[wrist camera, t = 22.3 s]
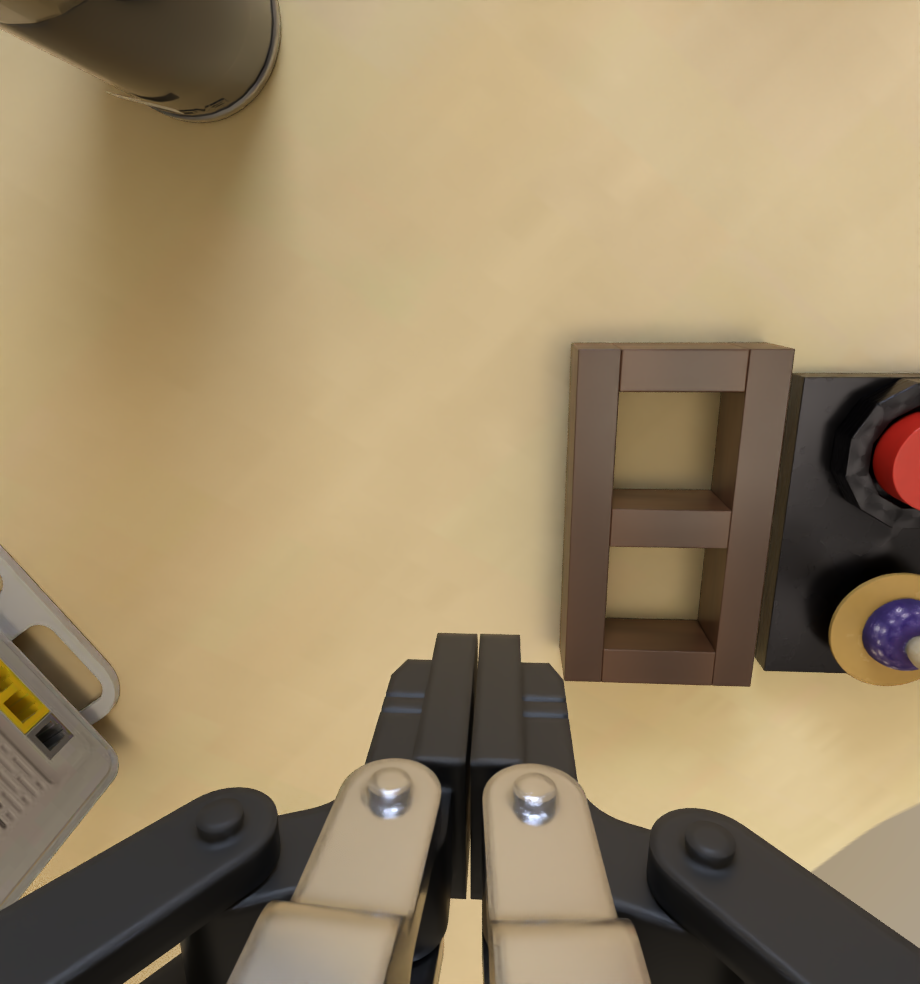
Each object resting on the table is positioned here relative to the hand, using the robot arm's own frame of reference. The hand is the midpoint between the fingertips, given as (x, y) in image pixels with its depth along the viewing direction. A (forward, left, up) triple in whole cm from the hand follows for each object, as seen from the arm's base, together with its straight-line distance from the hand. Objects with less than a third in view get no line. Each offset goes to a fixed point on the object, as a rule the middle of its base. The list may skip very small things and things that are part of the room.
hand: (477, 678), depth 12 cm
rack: (+6, +10, -29) cm, 31 cm away
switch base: (+7, +23, -29) cm, 37 cm away
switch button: (+2, +22, -26) cm, 34 cm away
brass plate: (+12, +23, -26) cm, 36 cm away
